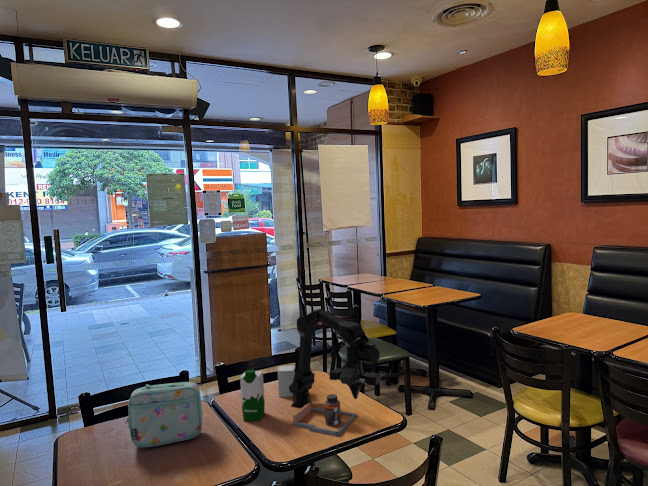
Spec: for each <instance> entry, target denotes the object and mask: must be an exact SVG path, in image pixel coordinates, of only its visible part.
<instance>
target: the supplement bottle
mask: <svg viewBox="0 0 648 486" xmlns="http://www.w3.org/2000/svg"><path fill="white" fill-rule="evenodd" d="M324 410H325V413H324V419H325V425H326V426H327V427H330V428H333V427H338V426H340V425H341V424H342V420H341V417H342V416H341V415H342V414H340V411H341V402H340V401H339V399H338V395H337V394H334V393H332V394H331V393H330V394H328V395H326V401H325V402H324Z"/></svg>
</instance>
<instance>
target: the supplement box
mask: <svg viewBox="0 0 648 486" xmlns="http://www.w3.org/2000/svg"><path fill="white" fill-rule="evenodd" d="M277 369H278V370H277V383H278V385H277V386H278V398H290V397H291V398H293V393H291V392H290V391H289V386H290V385H291V384H292V383H293V379H294V374H295V373H296V371H295V365H281V366H280V365H279V366H278V368H277Z"/></svg>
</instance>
